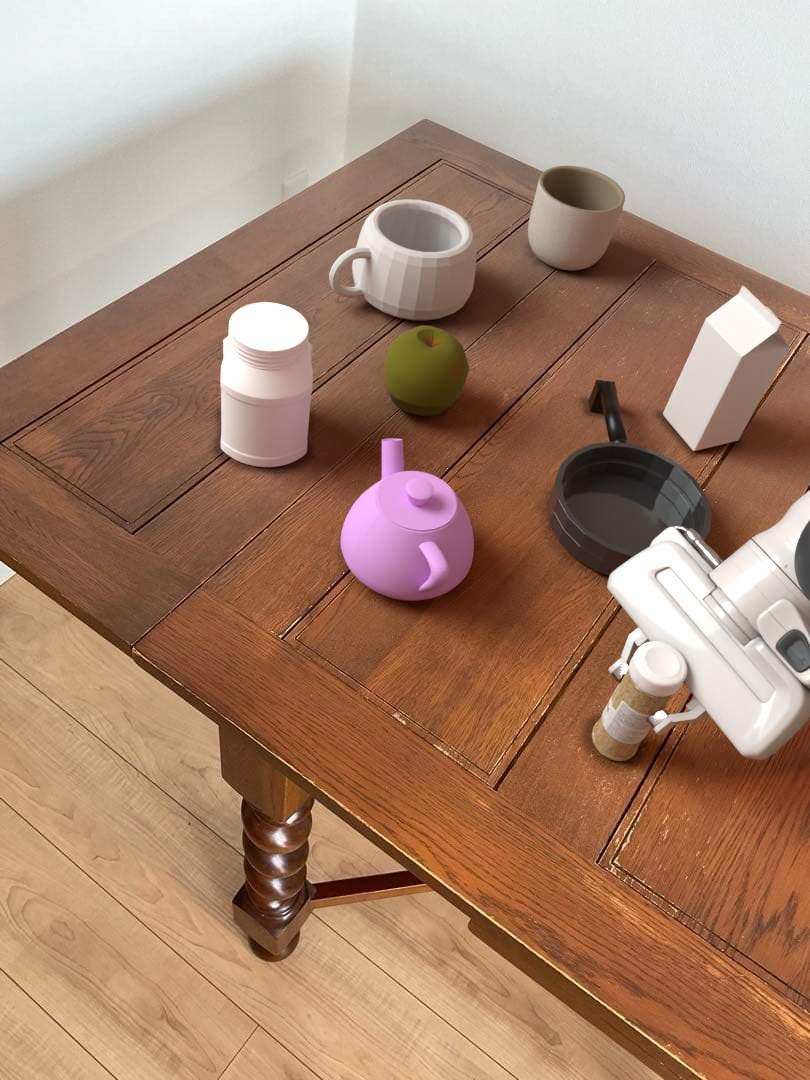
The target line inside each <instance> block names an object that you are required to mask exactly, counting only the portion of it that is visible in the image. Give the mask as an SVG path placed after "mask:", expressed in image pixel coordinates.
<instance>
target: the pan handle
mask: <svg viewBox="0 0 810 1080" xmlns="http://www.w3.org/2000/svg"><path fill="white" fill-rule="evenodd" d="M617 390H618V389H617V386H616V382H615V381H613V380H612V381H611V380H602V379H596V380H595V382H594V385H593V387H592V390H591V393H590V395H589V398H588V407H589V412H591V413H598V414H599V413H600V414H603V416H604V421H605V426H606V431H607V436H608V442H618V443H627V444H629V442H628V438H627V437H628V436H627V433H626V429H625V424H624V419H623V415H622V411H621V406H620V402H619V401H620V400H619V397H618V391H617Z"/></svg>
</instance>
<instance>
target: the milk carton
mask: <svg viewBox="0 0 810 1080" xmlns="http://www.w3.org/2000/svg"><path fill="white" fill-rule="evenodd" d="M782 324H783V323H782V321H781V320H780V318H779V317H778V316H777V315H776V313H775V312H774V311H773V310H772V309H771V308H769V307H768V306H765V305H764V304H763V302H762V301H760V300H759V299H758V298H757V296H756V295H755V294H753V293H752V292H751V291H750V290H749V289H748V288H747V287H746V286H745V285H741V287H740V289H739V292H738V293H737V294H735V296H732V297H731V298H730V299H729V300H728V301H727V302H726V303H724V304H722V305H721V306H720V307H719V308H718V309H716V310H714V311H713V312H712V313H711V314H710V315H708V316H707V317H706V318H705V320H704V321H703V324H702V326H701V329H700V330H699V333H698V335H697V337H696V339H695V342H694V344H693V345H692V348H691V351H690V353H689V354H688V357H687V360H686V361H685V364H684V365H683V368H682V370H681V372H680V375H679V377H678V379H677V381H676V383H675V385H674V387H673V390H672V392H671V395H670V396H669V399H668V401H667V403H666V405H665V408H664V409H663V412H662V416H663V418H665V420H667V422H668V423H669V424H670V426H672V428H673V429H674V430H675V431H676V433H678V435H679V436H680V437H681V438H682V440H683V441H684V442H685V443H686V444H687V445H688V447H689V448H690V449H691V451H693V452H697V451H701V450H704V449H710V448H714V447H717V446H722V445H725V444H729V443H733V442H738V441H739V440H740V438H741V436H742V434H743V433H744V431H745V429H746V428H747V426H748V424H749V422H750V420H751V418H752V416H753V415H754V413H755V411H756V409H757V408H758V406H759V404H760V403H761V400H762V399H763V396H764V395H765V393H766V391H767V389H768V387H769V385H770V384H771V382H772V380H773V379H774V377H775V374H776V372H777V371H778V369H779V367H780V365H781V363H782V361H783V360H784V358H785V356H786V355H787V353H788V351H789V349H790V346H789V344H788V342H787V341H786V340H785V338H784V337H783V335H782V334H781V333H780V331H779V329H780V327H781V326H782Z"/></svg>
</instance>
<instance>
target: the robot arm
mask: <svg viewBox="0 0 810 1080" xmlns="http://www.w3.org/2000/svg"><path fill="white" fill-rule="evenodd" d="M678 530H680V531H683V532H685V533H684V536H685V537H684V536H683V535H682V534H681V533H680V532H679V531H678ZM685 538H686V539H685ZM693 546H694V547H695V548H696V549H697V551H698V552H697V551H696V550H695V549H694V548H693ZM606 589H607V590H608V591H609V592H610V594H611V595H612V596H613V598H614V600H616V601H617V602H618V604H619V605H620V607H622V609H623V610H624V611H625V613H626V614H627V616H629V617H630V618H631V620H632V621H633V622H634V624H635V625H636V626H637V627H636V628H635V629H634V630H633V631H632V632H630V633H629V634H628V636H627V639H626V641H625V643H624V647H623V649H622V653H621V654H620V658H619V659H617V660H616V661H615V662H614V663H613V664H612V665H610V666H609V667H608V669H607V671H608V673H609V674H610V675H611V676H612V677H613V679H614V680H615V681H616V683H617V684H619V683H620V682H621V681H622V679H623V677H624V676H625V674H626V672H627V670H628V669H629V663H630V661H631V659H632V657H633V655H634V654H635V652H636V650H637V649H638V648H639V647H640V646H641V645H642V644H644V643H647V642H651V641H658V642H663V643H666V644H669V645H671V646H672V647H674V648H675V649H677V650H678V651H679V652H680V653H681V655H682V656H683V657H684V659H685V661H686V664H687V675H686V678H685V680H684V681H683V683H682V684H684V686H685V687H686V688H687V689H688V691H689V692H690V693H691V695H692V696H693V697H694V698H693V699H692V700H690V701H689V702H687V703H686V704H685V708H686V709H687V710H688V711H683V712H677V713H670V712H669V710H667V709H666V708H664V709H663V708H660V709H659V710H658V711H656V712H655V715H654V716H650V717H649V718H648V719H647V722H648V723H649V725H650V726H651V730H653V731H654V733H655V734H656V735H658V736H662V735H665V734H666V733H667V732H668V731H670V730H671V729H673V728H674V727H675V726H677V725H685V724H694V723H699V722H703V721H704V720H705V719H707V718H708V717H710V718H711V720H712V721H713V722H714V723H715V724H716V725H717V726H718V728H719V729H720V730H721V731H722V733H723V734H724V735H725V736H726V737H727V739H728V740H729V741H730V743H731V744H732V745H733V747H735V749H736V750H737V751H738V752H739V754H740V755H741V756H742V757H744V758H746V759H748V760H753V761H754V760H755V761H764V760H766V759H768V758H770V757H771V756H773V755H774V754H776V752H777V751H779V750H780V749H781V748H782V747H783V746H784V745H786V744H787V742H789V741H790V740H791V739H792V738H793V737H794V736H795V735H796V734H797V733H798V732H799V731H800V730H801V729H802V728H803V727H804V726H805V724H806V723H807V722H808V721H809V719H810V489H809V490H808V491H806V493H804V494H802V496H801V497H799V498H798V499H797V500H796V501H795V502H794V503H792V505H790V507H789V508H788V510H787V511H786V513H785V514H784V515H783V516H782V518H781V519H780V520H779V521H778V522H777V523H776V524H774V525H773V526H772V527H770V528H768V529H766V530H763V531H761V532H759V533H757V534H755V535H753V536H752V537H751V538H750V539H749V540H747V541H746V542H745V543H744V544H743V545H742V546H740V547H739V548H738V549H737V550H735V551H734V552H733V553H732V554H731V555H730V556H728V557H727V558H726V559H725V560H723V558H721V556H720V555H719V554H718V553H717V552H716V550H715V549H713V548H712V546H709V544H708V543H706V542H705V541H703V540H702V537H701V536H700V535H699V534H698V533H697V532H696V531H695V530H694V529H692V528H690V529H687V528H685V527H683V526H671V527H669V528H667V529H665V530H664V531H663V532H662V533H661V534H659V535H658V536H657V537H656V538H655V539H654V540H653V541H652V543H651V544H650V547H648V548H646V549H645V550H643V551H641V552H640V553H638V554H637V555H635V556H633V557H632V558H630V559H629V560H628V561H626V562H625V563H623V564H622V565H621V566H619V567H618V568H617V569H615V570H614V571H613V572H612V573H611V574H610V576H609V575H608V580H607V585H606Z"/></svg>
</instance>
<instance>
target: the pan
mask: <svg viewBox="0 0 810 1080" xmlns="http://www.w3.org/2000/svg"><path fill="white" fill-rule="evenodd" d="M546 509H547V518H548V523H549V526H550V527H551V529H552V531H553V533H554V534H555V537H556V538H557V540H558V541H559V543H560V544H561V545H562V546H563V547H564V548H565V549H566V550H567V551H568V552H569V553H570V554H571V555H572V556H573V557H574V558H575V559H576V560H578V561H580V562H581V563H583V564H584V565H586V566H588V567H589V568H590V569H592V570H594V571H596V572H598V573H600V574H604V575H606V576H608V577H609V576H610V574H611V573H612V572H613V571H614V570H615V569H617V568H618V567H619V566H621V565H622V564H623V563H625V562H626V561H628V560H629V559H630V558H632V557H633V556H635V555H637V554H638V553H640V552H641V551H643V550H645V549H646V548H648V547H650V544H651V543H652V541H653V540H654V539H655V538H656V537H657V536H658V535H659V534H661V533H662V532H663V531H664V530H665V529H667V528H669V527H671V526H683V527H685V528H687V529H690V528H692V529H694V530H695V531H696V532H697V533H698V534H699V535H700V536H701V537H702V540H703V541H704V542H705V541H706V539H707V537H708V536H709V534H710V532H711V531H710V530H711V525H712V519H713V513H712V510H711V506H710V503H709V499H708V496H707V494H706V493H705V491H704V490H703V488H702V487H701V485H700V484H699V482H698V481H697V479H696V478H695V477H694V476H693V475H692V474H690V473H689V472H688V471H687V469H685V468H684V467H682V466H681V465H680V464H679V463H678V462H676V461H675V460H673V459H671V458H669V457H667V456H665V455H663V454H662V453H660V452H658V451H656V450H653V449H650V448H647V447H643V446H641V445H638V444H634V443H628V444H627V443H618V442H609V441H605V442H598V443H591V444H587V445H586V446H583V447H581V448H579V449H577V450H574V451H572V452H571V453H570V454H569V455H568V456H567V457H566V458H565V459H564V460H563V461H562V463H561V464H560V465H559V468H558V471H557V472H556V476H555V478H554V481H553V484H552V486H551V489H550V492H549V495H548V497H547V501H546ZM678 531H679V532H680V533H681V534H682V535H683V536H684V533H685V532H683V531H680V530H678ZM684 537H685V536H684ZM685 539H686V538H685ZM693 548H694V549H695V550H696V551H697V549H696V548H695V547H694V546H693ZM697 552H698V551H697ZM698 553H699V552H698Z"/></svg>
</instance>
